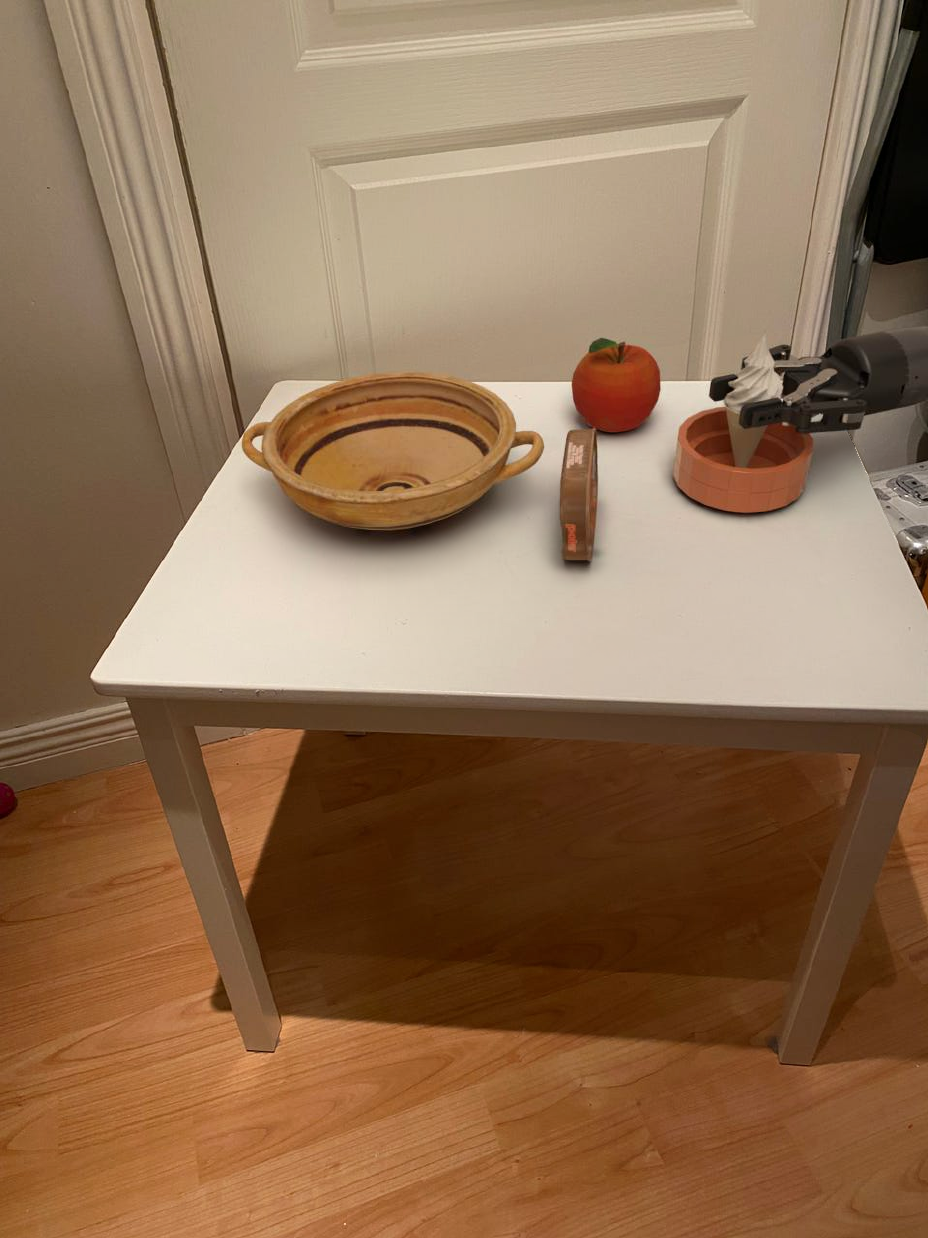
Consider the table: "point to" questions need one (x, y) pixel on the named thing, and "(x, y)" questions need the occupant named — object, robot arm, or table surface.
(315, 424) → the ceramic bowl
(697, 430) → the pot
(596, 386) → the fruit
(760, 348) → the ice cream cone
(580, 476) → the tin
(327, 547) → the table surface
